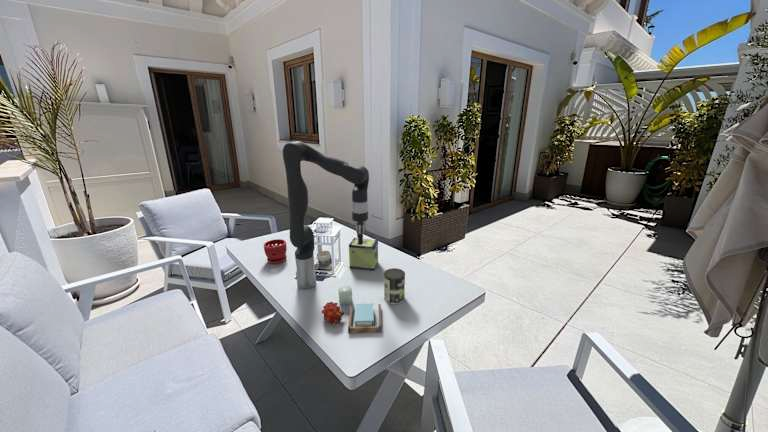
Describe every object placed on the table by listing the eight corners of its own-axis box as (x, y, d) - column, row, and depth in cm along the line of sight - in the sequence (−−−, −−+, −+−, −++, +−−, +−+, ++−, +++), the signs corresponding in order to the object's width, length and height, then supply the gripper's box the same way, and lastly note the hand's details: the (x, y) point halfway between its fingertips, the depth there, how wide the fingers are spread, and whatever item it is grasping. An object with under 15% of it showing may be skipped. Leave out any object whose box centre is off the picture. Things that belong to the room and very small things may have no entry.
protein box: (374, 270, 174) (374, 246, 169) (349, 268, 177) (348, 244, 172) (378, 262, 184) (378, 239, 178) (354, 260, 187) (353, 237, 181)
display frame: (348, 333, 126) (347, 328, 125) (351, 309, 141) (350, 304, 140) (381, 332, 126) (381, 327, 125) (380, 308, 141) (380, 304, 140)
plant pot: (292, 258, 189) (290, 241, 185) (275, 267, 179) (272, 249, 175) (278, 253, 196) (276, 236, 192) (261, 261, 185) (258, 244, 181)
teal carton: (355, 330, 128) (354, 321, 126) (356, 311, 139) (355, 303, 138) (373, 329, 128) (373, 320, 127) (373, 311, 140) (373, 303, 138)
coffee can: (408, 296, 150) (408, 271, 146) (398, 307, 142) (398, 281, 137) (390, 290, 155) (390, 266, 151) (380, 300, 147) (379, 275, 142)
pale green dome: (338, 305, 143) (337, 293, 141) (339, 298, 149) (339, 286, 147) (351, 305, 143) (351, 293, 141) (352, 297, 149) (352, 285, 147)
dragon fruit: (326, 314, 140) (341, 330, 132) (313, 312, 133) (328, 329, 125) (336, 298, 140) (351, 313, 132) (323, 296, 133) (338, 312, 126)
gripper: (353, 205, 145) (353, 238, 151) (350, 214, 132) (351, 249, 138) (368, 205, 145) (368, 238, 151) (367, 214, 132) (367, 249, 138)
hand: (360, 243), depth 144 cm, fingers closed
